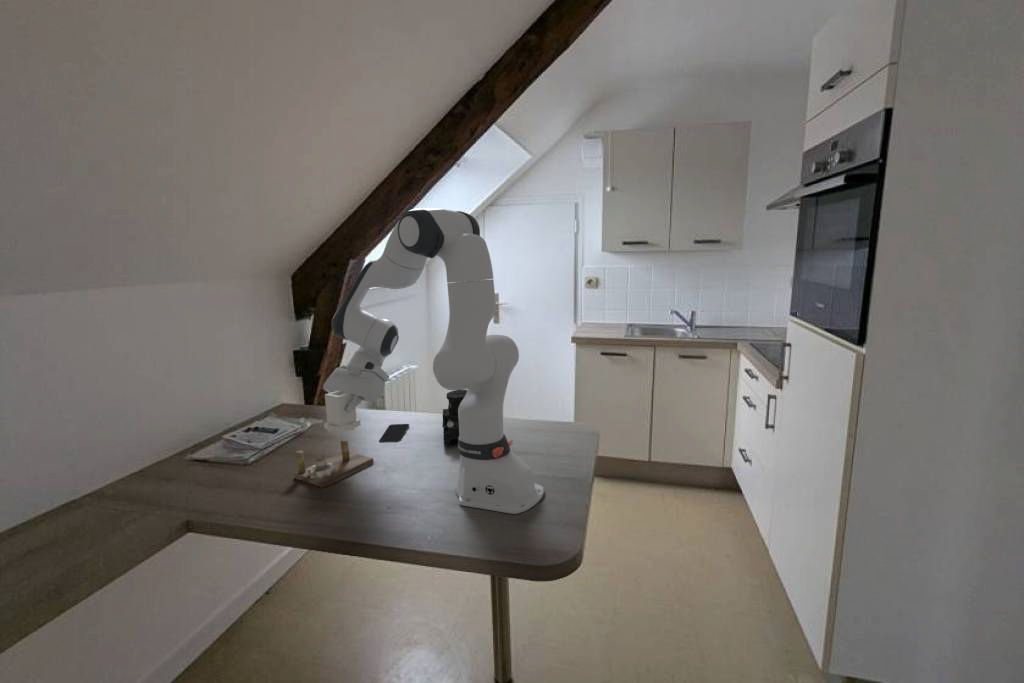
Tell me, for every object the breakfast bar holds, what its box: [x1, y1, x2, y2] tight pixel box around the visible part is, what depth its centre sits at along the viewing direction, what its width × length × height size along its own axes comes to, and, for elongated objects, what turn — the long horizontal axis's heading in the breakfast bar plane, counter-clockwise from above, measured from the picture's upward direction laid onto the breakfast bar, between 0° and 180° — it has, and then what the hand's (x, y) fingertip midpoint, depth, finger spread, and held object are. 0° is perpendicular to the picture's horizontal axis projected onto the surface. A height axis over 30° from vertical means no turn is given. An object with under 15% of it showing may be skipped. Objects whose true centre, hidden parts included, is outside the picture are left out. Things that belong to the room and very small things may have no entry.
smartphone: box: [378, 423, 410, 443], centre depth 168 cm, size 7×1×15 cm
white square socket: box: [323, 391, 361, 434], centre depth 141 cm, size 10×10×10 cm
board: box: [293, 438, 374, 489], centre depth 140 cm, size 12×18×8 cm
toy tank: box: [441, 389, 468, 447], centre depth 161 cm, size 12×18×15 cm
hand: (339, 409), depth 141 cm, fingers closed on white square socket, 6 cm apart
